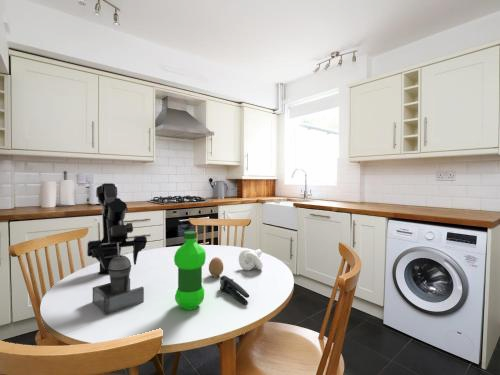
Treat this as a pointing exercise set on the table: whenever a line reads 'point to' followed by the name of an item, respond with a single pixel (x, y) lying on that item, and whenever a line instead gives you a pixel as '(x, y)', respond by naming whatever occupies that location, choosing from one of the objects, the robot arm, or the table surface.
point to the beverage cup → (119, 273)
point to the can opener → (233, 289)
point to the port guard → (116, 298)
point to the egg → (216, 266)
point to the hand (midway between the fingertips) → (120, 266)
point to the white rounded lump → (250, 259)
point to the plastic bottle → (190, 272)
